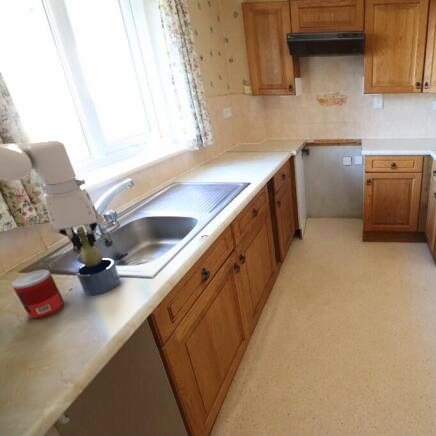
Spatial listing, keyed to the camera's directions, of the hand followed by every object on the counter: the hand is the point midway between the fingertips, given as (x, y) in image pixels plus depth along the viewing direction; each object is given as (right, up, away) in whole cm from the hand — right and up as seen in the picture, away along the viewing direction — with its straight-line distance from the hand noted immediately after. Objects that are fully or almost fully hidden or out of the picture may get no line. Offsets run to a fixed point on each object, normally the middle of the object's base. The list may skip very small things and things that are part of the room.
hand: (86, 245), depth 94 cm
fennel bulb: (0, -6, +3) cm, 7 cm away
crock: (+1, -13, +6) cm, 14 cm away
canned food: (-8, -18, -3) cm, 20 cm away
